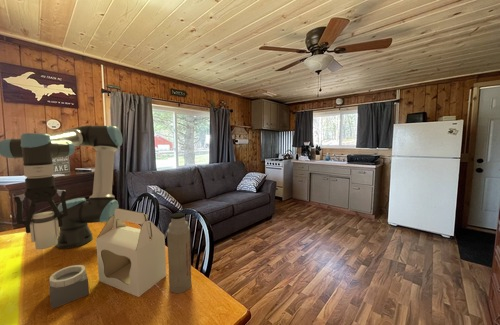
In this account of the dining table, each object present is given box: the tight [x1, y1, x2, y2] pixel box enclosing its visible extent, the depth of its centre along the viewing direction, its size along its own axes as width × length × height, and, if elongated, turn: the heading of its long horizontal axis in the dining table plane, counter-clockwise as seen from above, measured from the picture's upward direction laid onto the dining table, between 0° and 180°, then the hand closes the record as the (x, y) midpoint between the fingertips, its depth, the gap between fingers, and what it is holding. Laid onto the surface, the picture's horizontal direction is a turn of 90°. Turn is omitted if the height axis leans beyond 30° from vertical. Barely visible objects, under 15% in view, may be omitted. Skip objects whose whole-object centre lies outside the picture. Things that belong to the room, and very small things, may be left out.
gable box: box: [95, 208, 167, 298], centre depth 84 cm, size 22×13×28 cm, turn 67°
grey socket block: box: [48, 264, 90, 310], centre depth 77 cm, size 10×10×8 cm
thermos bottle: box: [166, 212, 192, 294], centre depth 80 cm, size 8×8×28 cm
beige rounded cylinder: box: [31, 210, 58, 250], centre depth 79 cm, size 6×6×12 cm
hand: (46, 237), depth 80 cm, fingers closed on beige rounded cylinder, 6 cm apart
